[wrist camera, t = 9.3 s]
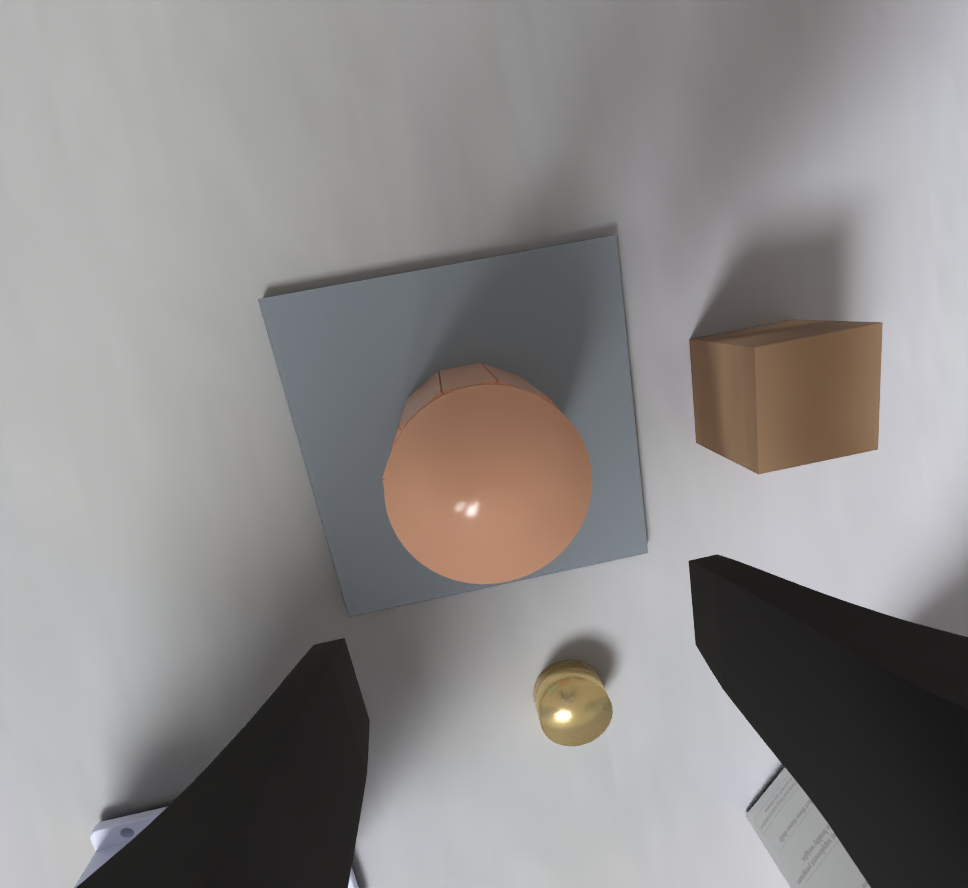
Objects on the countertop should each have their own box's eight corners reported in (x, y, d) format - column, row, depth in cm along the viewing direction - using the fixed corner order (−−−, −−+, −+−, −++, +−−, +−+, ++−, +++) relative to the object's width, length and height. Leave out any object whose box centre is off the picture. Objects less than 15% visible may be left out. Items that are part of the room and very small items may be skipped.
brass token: (538, 723, 23) (546, 753, 21) (527, 667, 22) (534, 695, 20) (604, 707, 23) (616, 736, 21) (594, 651, 22) (607, 677, 20)
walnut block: (695, 442, 20) (758, 474, 16) (688, 339, 19) (754, 347, 15) (792, 422, 20) (878, 449, 16) (791, 319, 19) (882, 322, 15)
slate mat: (350, 611, 20) (348, 616, 20) (262, 299, 17) (257, 298, 17) (643, 548, 21) (648, 552, 20) (612, 236, 18) (616, 234, 17)
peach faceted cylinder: (414, 528, 19) (409, 602, 14) (379, 382, 18) (361, 409, 13) (560, 498, 19) (603, 560, 15) (538, 351, 18) (578, 366, 13)
